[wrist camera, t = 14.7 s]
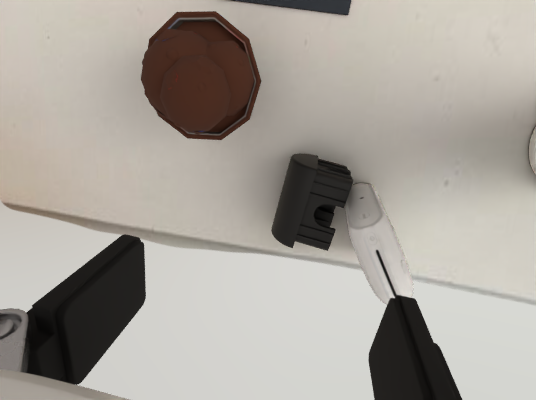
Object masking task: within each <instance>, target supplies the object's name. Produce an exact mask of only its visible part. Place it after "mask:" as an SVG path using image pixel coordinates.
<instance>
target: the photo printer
mask: <svg viewBox="0 0 536 400" xmlns="http://www.w3.org/2000/svg"><path fill="white" fill-rule="evenodd" d="M345 211H346V218H347V225H348V231H349V235H350V239H351V242H352V244H353V247H354V250H355V253H356V255H357V258H358V260H359V262H360V265H361V267H362V269H363V272H364V274H365V276H366V278H367V280H368V282H369V284H370V286H371V288H372V290H373V292H374V293H375V294H376V296H377V297H378V298H379V299H380V300H381V301H382V302H383V303H385V304H387V305H388V302H389V300H390V298H395V297H396V296H397V295H401V296H405V297H410V298H411V297H412V295H413V280H412V277H411V273H410V270H409V267H408V264H407V261H406V258H405V256H404V253H403V250H402V248H401V245H400V243H399V240H398V238H397V236H396V233H395V231H394V228H393V226H392V225H391V223H390V221H389V219H388V216H387V214H386V212H385V210H384V207H383V205H382V203H381V200H380V198H379V196H378V194H377V192H376V190H375V189H374V187H373V186H372V185H371V184H368V185H367V184H365V183H359V184H355V185H353V186H352V187H351V190H350V193H349V195H348V198H347V201H346V204H345Z"/></svg>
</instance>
